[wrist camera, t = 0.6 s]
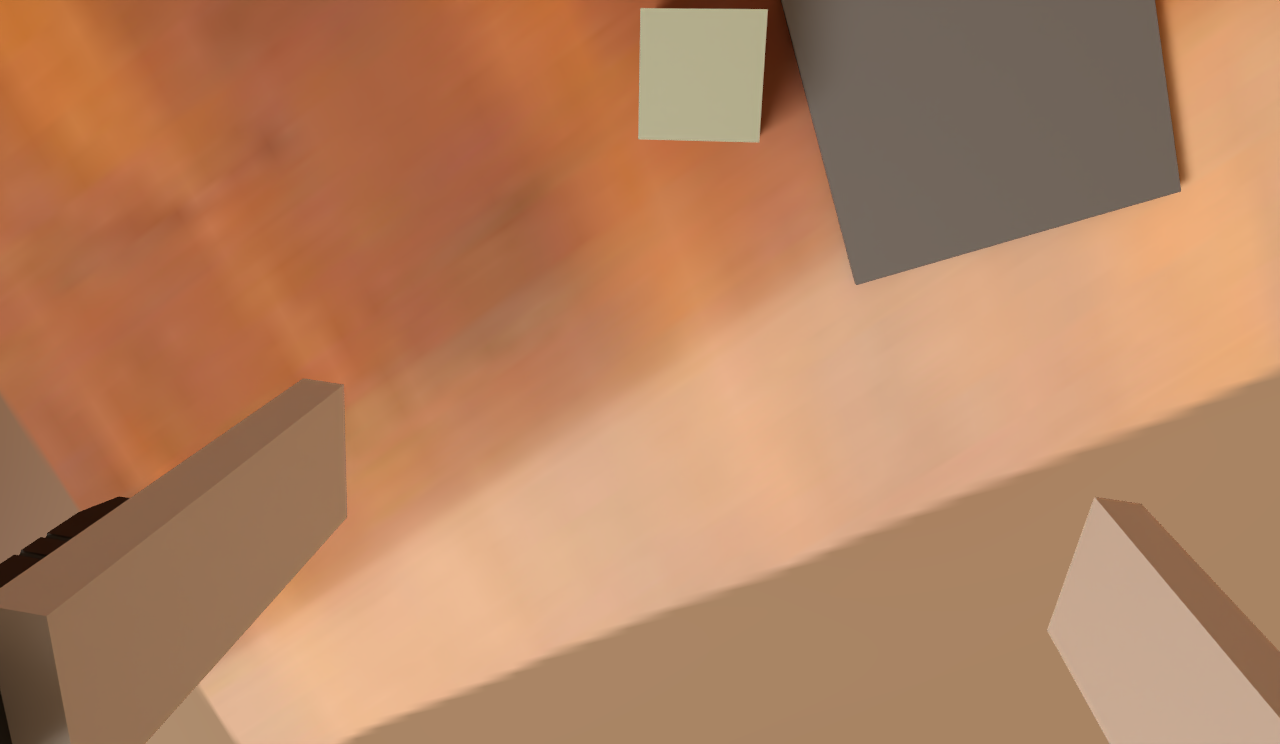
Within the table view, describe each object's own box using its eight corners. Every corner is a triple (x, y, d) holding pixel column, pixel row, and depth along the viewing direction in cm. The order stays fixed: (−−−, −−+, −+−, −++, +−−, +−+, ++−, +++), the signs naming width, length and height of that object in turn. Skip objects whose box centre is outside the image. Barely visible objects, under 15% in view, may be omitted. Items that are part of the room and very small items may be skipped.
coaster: (774, -26, 34) (774, -28, 34) (1125, -160, 31) (1132, -164, 31) (854, 282, 38) (856, 285, 38) (1174, 189, 35) (1181, 191, 35)
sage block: (651, 16, 36) (640, 8, 32) (765, 17, 35) (768, 9, 31) (649, 134, 37) (638, 139, 34) (757, 136, 37) (759, 142, 33)
